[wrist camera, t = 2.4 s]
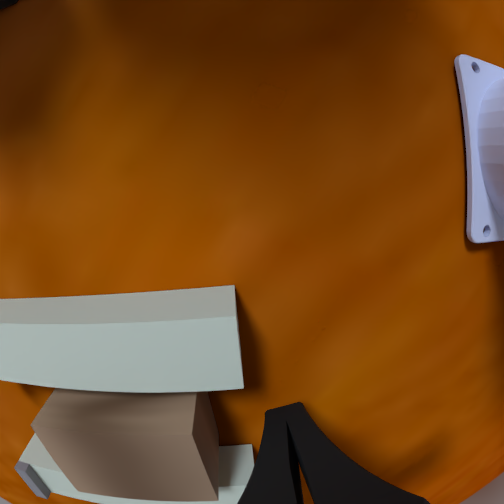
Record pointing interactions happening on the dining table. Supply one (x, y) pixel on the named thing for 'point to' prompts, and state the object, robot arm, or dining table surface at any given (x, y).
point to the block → (133, 443)
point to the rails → (125, 363)
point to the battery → (6, 3)
